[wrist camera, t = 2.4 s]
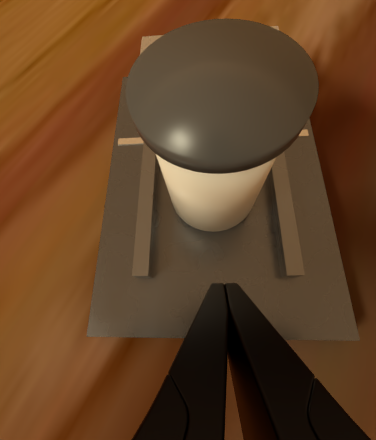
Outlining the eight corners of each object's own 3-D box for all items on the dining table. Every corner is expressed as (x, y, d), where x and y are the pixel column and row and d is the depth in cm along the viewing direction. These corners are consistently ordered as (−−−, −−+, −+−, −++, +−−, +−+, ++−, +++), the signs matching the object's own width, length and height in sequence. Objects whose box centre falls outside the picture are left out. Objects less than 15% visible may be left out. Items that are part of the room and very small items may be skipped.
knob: (266, 236, 15) (338, 155, 7) (163, 238, 16) (115, 164, 7) (255, 150, 17) (300, 12, 9) (167, 154, 18) (133, 26, 10)
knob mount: (344, 337, 14) (422, 356, 9) (97, 333, 15) (43, 348, 10) (291, 80, 22) (318, 11, 17) (128, 91, 23) (105, 29, 18)
